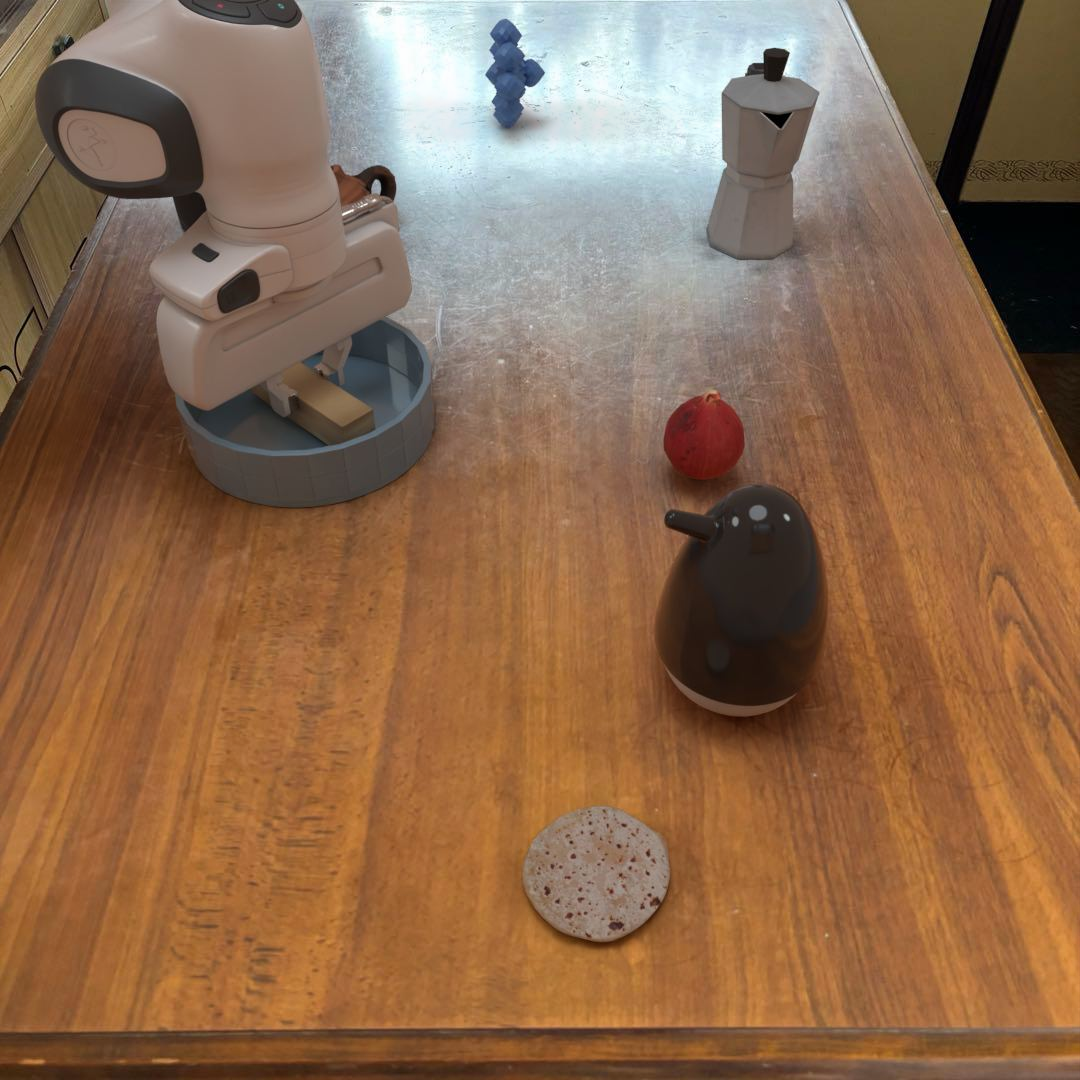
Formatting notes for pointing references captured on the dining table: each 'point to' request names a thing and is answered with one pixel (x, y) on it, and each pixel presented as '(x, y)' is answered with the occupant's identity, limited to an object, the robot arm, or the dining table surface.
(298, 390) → the gold bar
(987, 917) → the dining table surface
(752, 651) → the pump dispenser
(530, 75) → the grapes
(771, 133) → the coffee maker
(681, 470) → the onion
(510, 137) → the dining table surface
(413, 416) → the bowl
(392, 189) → the brown wooden curved piece
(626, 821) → the flatbread
